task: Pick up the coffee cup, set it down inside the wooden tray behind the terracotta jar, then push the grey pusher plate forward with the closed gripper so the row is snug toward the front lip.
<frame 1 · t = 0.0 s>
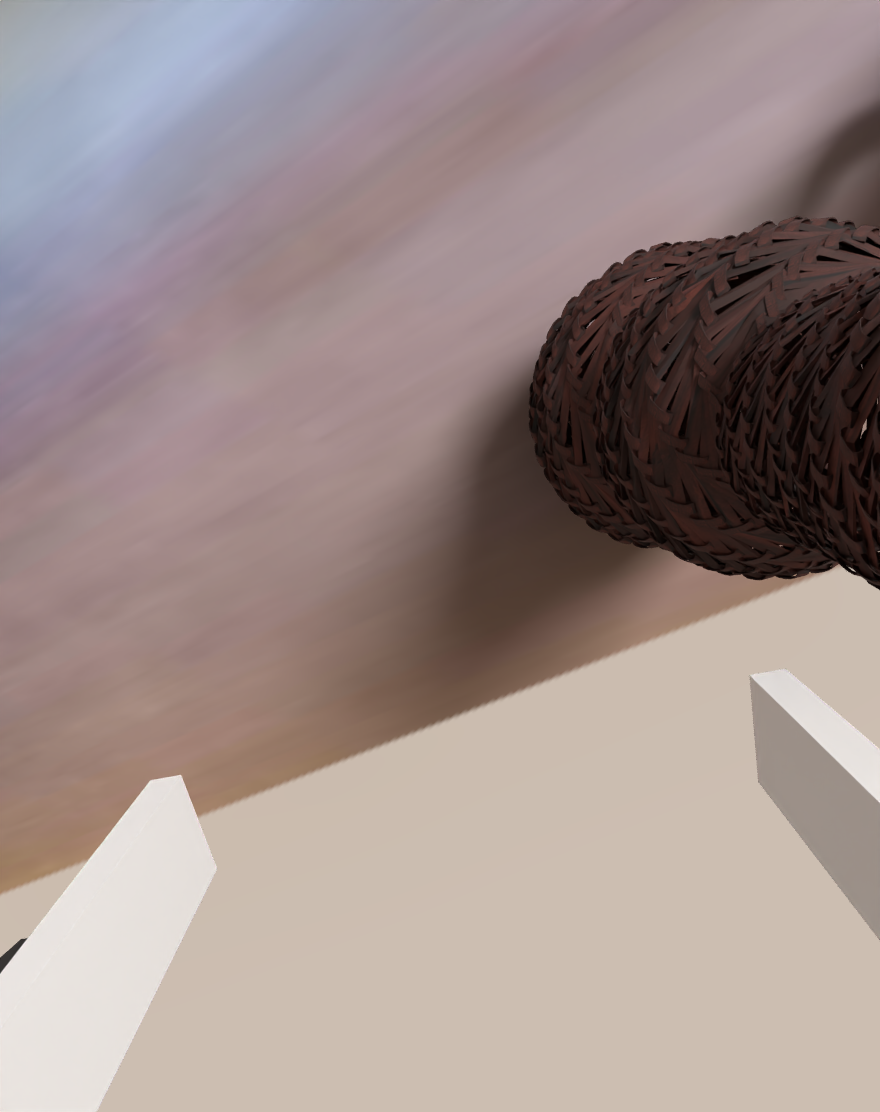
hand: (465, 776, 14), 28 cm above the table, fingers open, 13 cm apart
vase: (635, 400, 38), on the table
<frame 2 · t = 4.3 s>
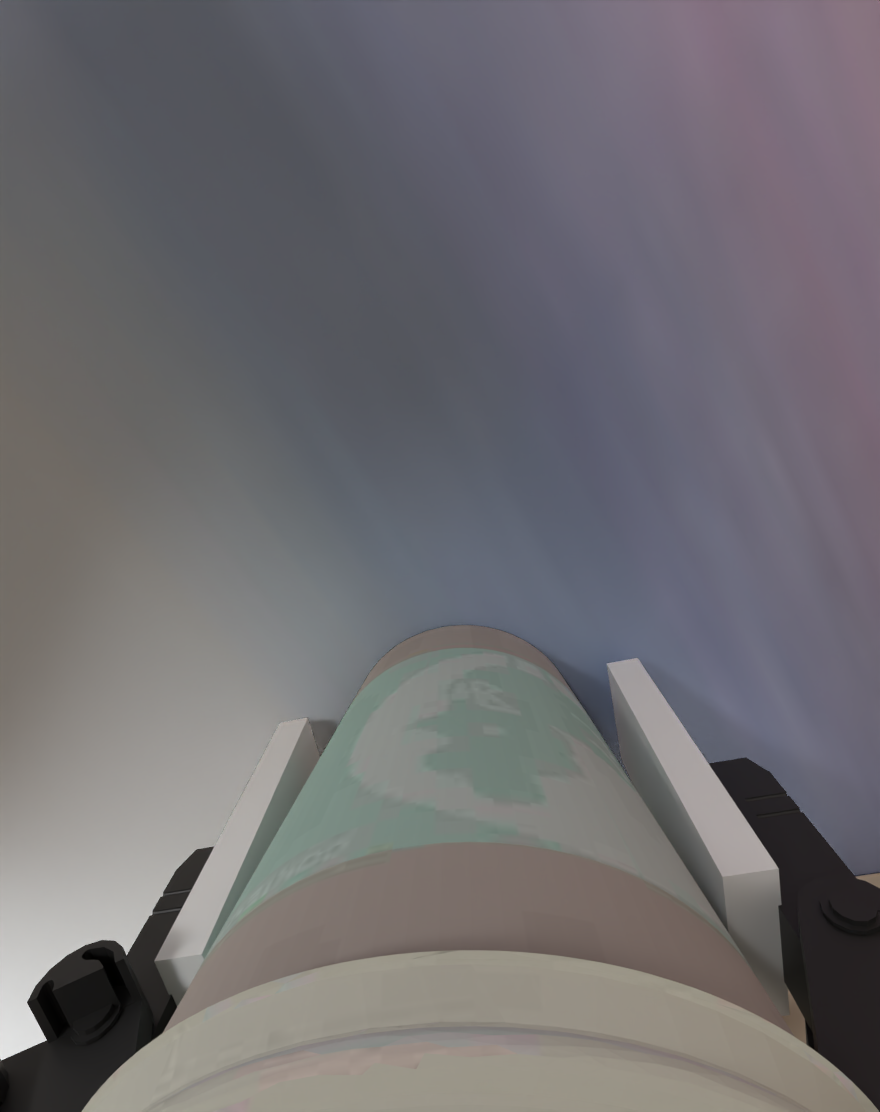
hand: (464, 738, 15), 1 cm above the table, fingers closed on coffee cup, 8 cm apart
coffee cup: (463, 721, 16), on the table, touching gripper
when the fingers open (3 cm above the table, at t = 9.8 s): coffee cup drops 1 cm, resting on wooden tray.
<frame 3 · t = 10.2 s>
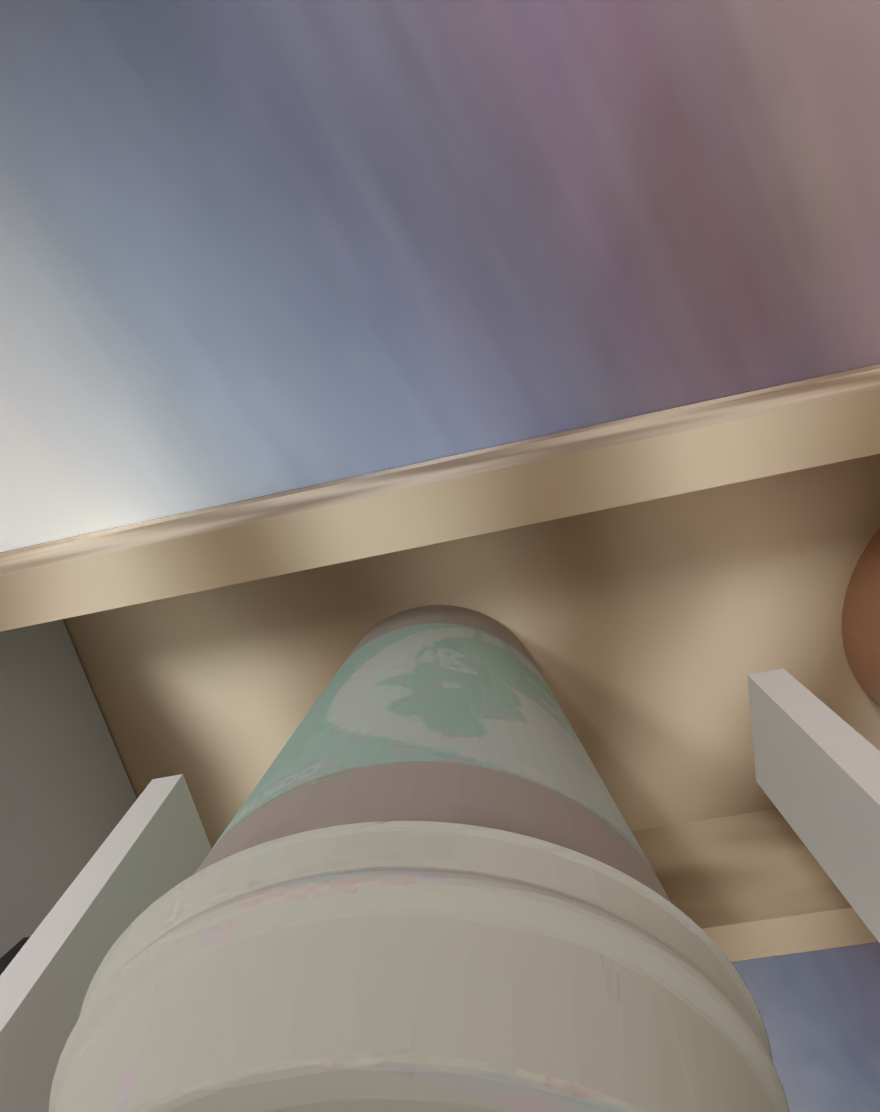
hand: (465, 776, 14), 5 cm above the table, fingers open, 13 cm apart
wooden tray: (561, 662, 18), on the table
coffee cup: (440, 694, 17), point 1 cm above the table, touching wooden tray
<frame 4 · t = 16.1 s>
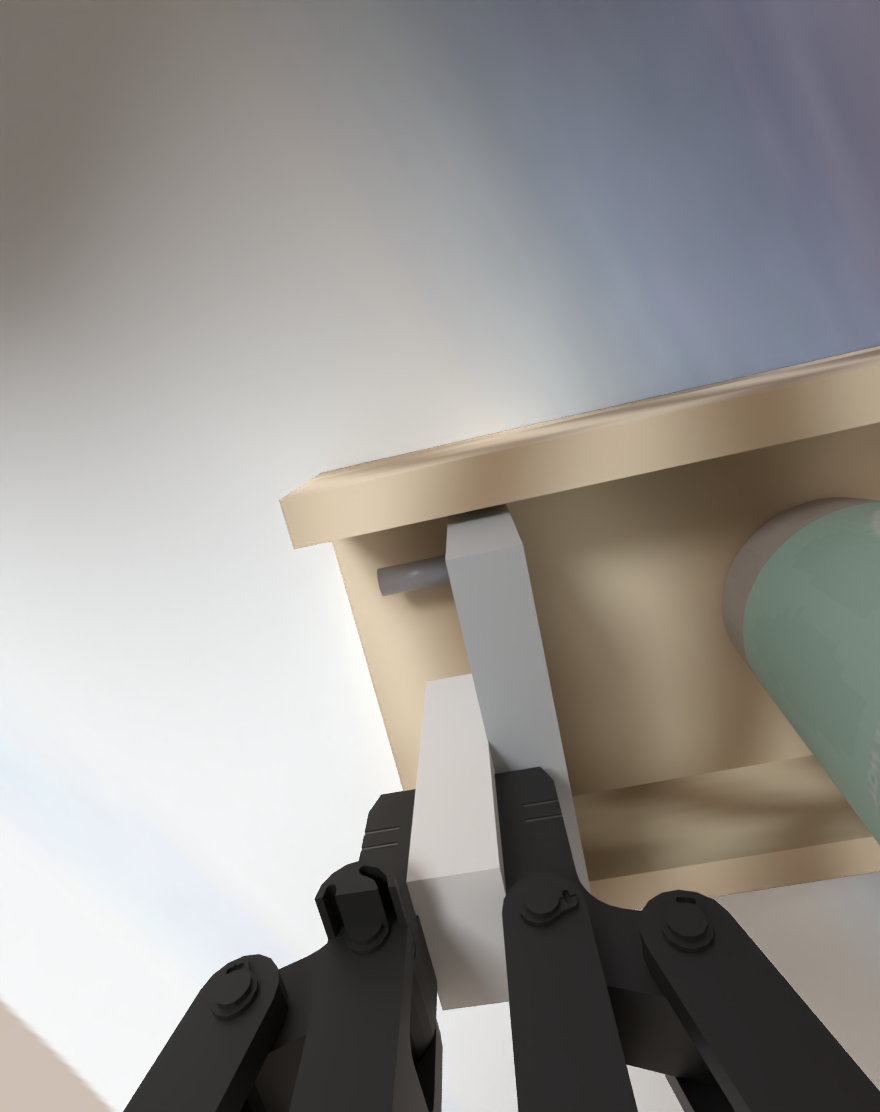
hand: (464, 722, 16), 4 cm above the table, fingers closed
coffee cup: (815, 589, 18), point 1 cm above the table, touching wooden tray
pusher: (474, 716, 16), point 4 cm above the table, slide at 1.2 cm, touching gripper
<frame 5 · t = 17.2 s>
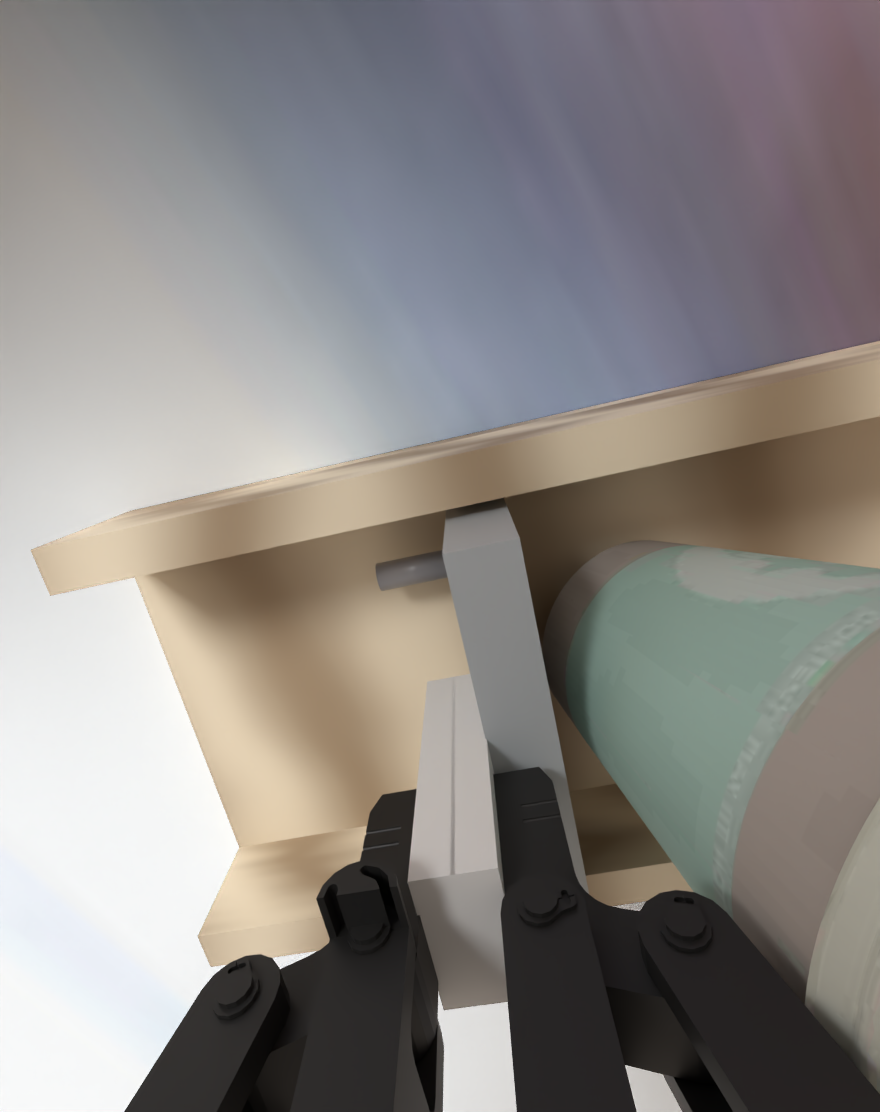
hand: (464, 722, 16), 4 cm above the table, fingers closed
wooden tray: (715, 596, 19), on the table
coffee cup: (628, 634, 17), point 2 cm above the table, touching pusher
pusher: (472, 710, 16), point 4 cm above the table, slide at 7.4 cm, touching coffee cup, gripper
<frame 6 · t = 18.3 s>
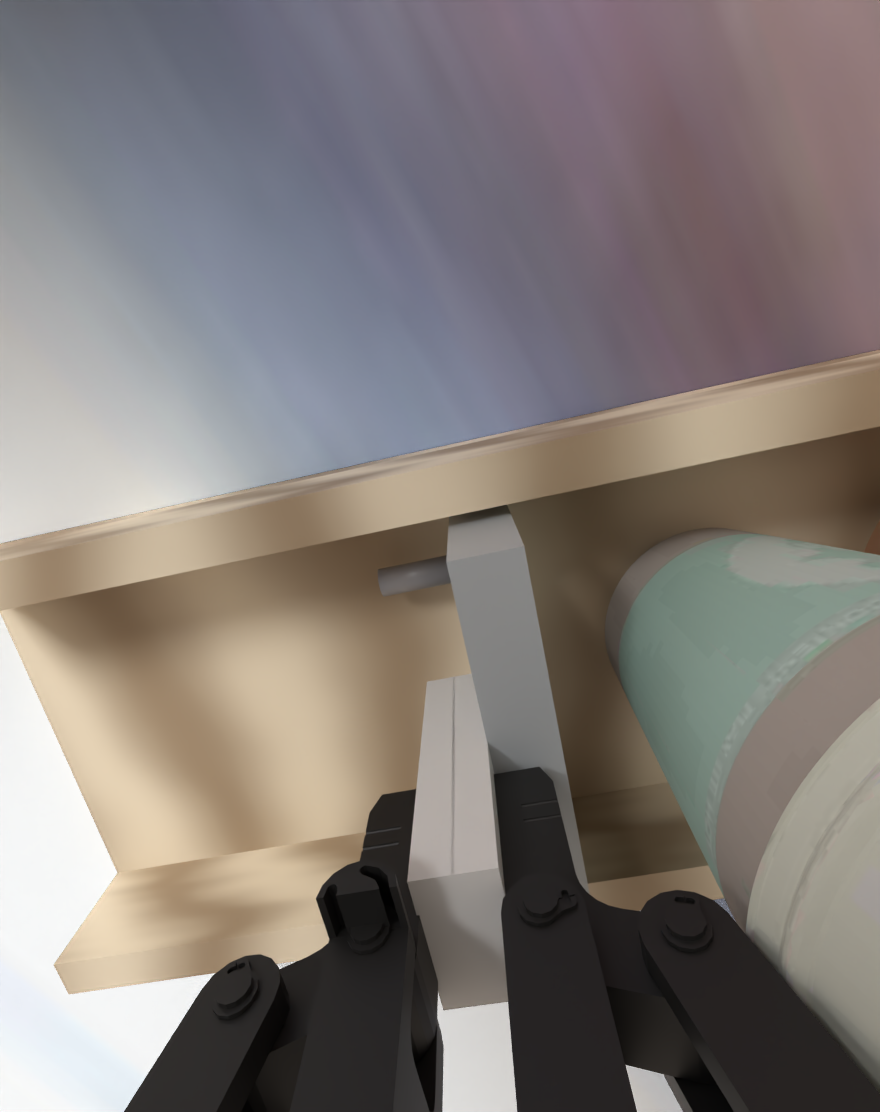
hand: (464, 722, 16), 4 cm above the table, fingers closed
wooden tray: (574, 630, 19), on the table
coffee cup: (696, 619, 18), point 1 cm above the table, touching hand, jar
pusher: (474, 717, 16), point 4 cm above the table, slide at 12.0 cm, touching gripper
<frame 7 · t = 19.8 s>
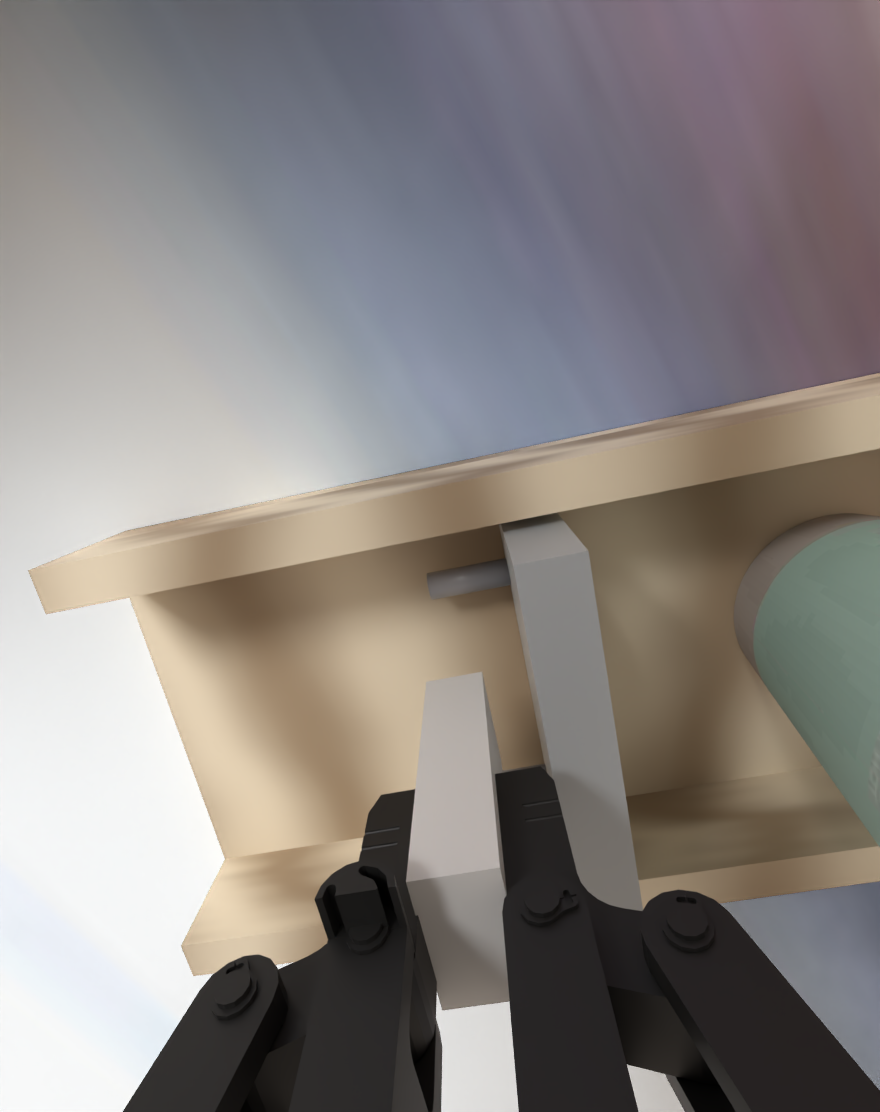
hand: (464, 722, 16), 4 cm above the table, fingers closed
wooden tray: (689, 621, 19), on the table
coffee cup: (826, 602, 18), point 1 cm above the table, touching jar, wooden tray
pusher: (522, 717, 16), point 4 cm above the table, slide at 9.4 cm
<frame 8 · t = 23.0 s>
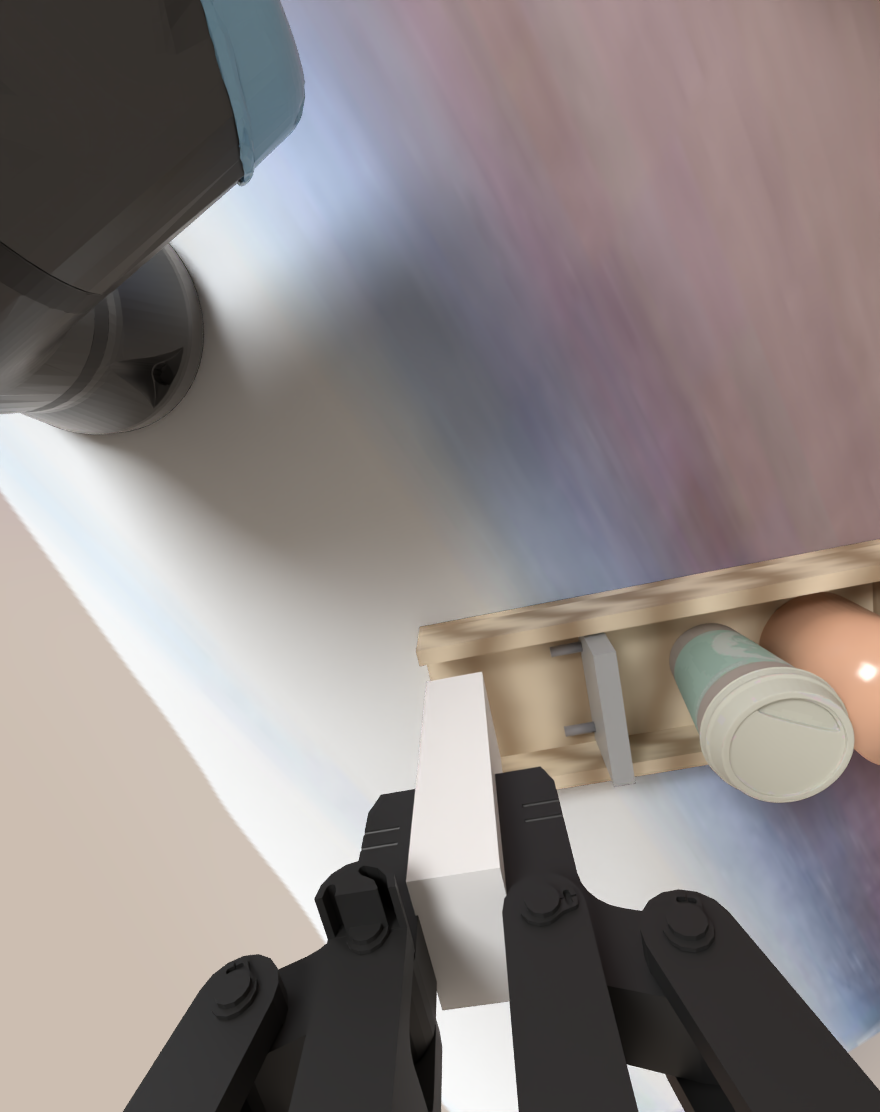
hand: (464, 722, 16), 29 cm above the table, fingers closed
wooden tray: (652, 662, 47), on the table
jar: (811, 641, 45), point 1 cm above the table, touching coffee cup, wooden tray
coffee cup: (706, 656, 46), point 1 cm above the table, touching jar, wooden tray
pusher: (588, 702, 44), point 4 cm above the table, slide at 9.4 cm
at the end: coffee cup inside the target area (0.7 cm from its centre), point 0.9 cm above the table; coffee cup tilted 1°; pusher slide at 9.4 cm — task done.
